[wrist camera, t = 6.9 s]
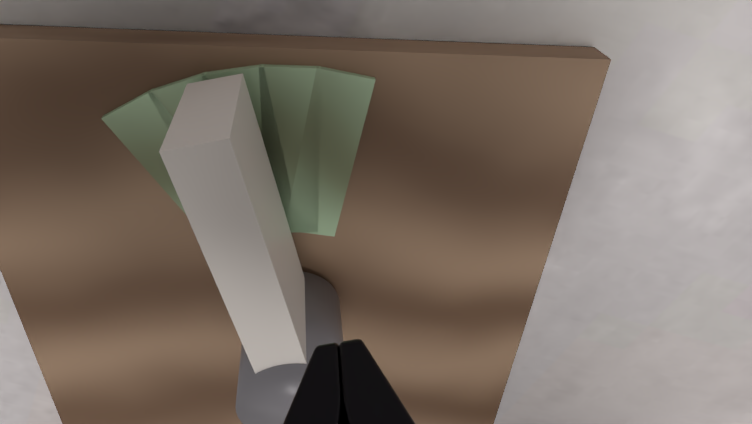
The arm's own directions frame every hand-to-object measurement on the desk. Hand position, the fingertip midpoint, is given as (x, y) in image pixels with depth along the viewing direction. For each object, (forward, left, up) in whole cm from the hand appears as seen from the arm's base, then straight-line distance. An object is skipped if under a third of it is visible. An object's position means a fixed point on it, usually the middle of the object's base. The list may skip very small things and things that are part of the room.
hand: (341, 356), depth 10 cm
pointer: (-4, +2, -9) cm, 10 cm away
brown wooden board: (-7, +1, -11) cm, 13 cm away
